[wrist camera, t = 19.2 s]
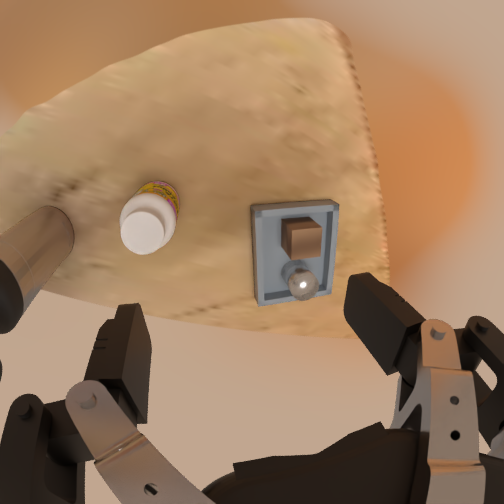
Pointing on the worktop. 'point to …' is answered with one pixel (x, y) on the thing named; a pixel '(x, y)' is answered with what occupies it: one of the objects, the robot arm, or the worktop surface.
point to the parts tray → (274, 257)
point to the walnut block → (301, 238)
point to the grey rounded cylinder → (300, 280)
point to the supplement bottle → (149, 218)
